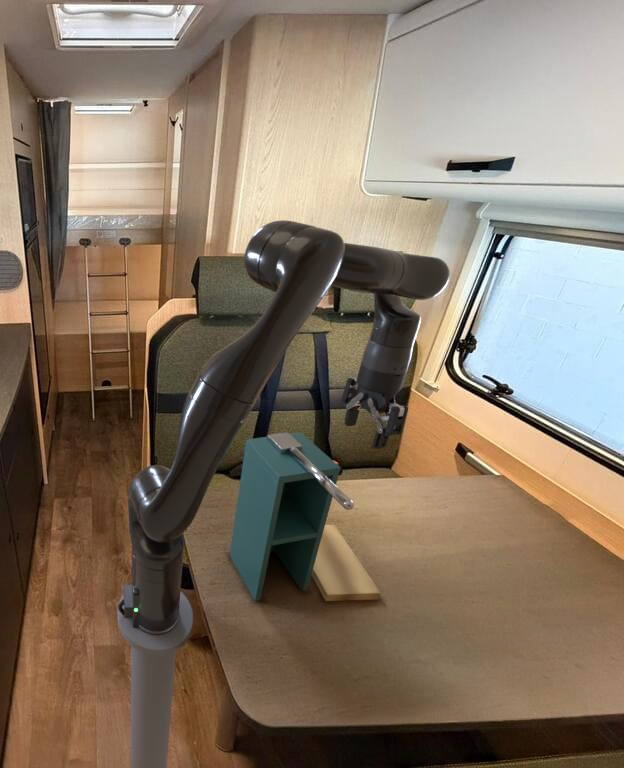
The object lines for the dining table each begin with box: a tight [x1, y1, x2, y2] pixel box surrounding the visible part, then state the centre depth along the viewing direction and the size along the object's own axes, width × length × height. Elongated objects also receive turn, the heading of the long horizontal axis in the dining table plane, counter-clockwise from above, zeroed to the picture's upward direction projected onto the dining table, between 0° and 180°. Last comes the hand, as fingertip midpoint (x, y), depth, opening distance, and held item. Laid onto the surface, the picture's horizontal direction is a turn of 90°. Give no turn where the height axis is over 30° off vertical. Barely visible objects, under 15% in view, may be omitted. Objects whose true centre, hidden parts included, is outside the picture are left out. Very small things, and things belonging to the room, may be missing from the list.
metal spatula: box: [266, 431, 355, 511], centre depth 74 cm, size 21×4×2 cm, turn 11°
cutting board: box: [311, 524, 381, 602], centre depth 94 cm, size 11×19×2 cm, turn 1°
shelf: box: [229, 432, 341, 602], centre depth 86 cm, size 12×12×32 cm
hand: (363, 436), depth 87 cm, fingers open, 8 cm apart
